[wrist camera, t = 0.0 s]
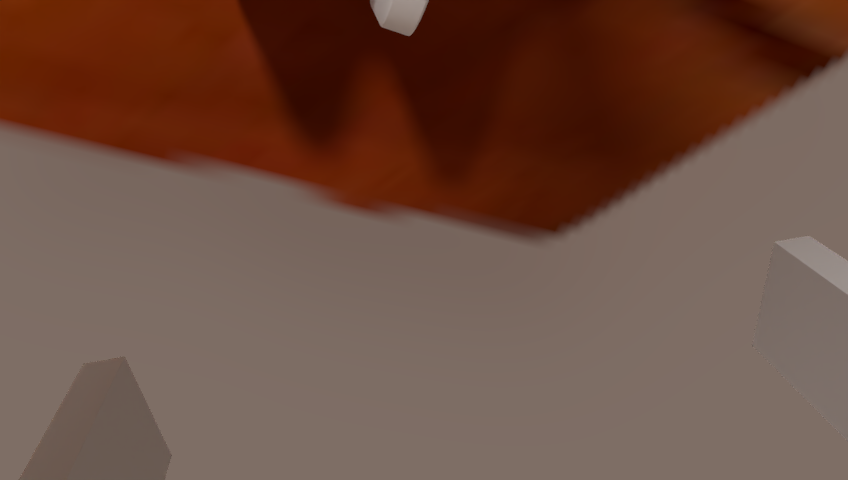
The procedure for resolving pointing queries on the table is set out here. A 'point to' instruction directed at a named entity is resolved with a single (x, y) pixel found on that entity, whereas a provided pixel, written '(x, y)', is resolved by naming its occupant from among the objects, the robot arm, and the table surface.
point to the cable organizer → (399, 14)
